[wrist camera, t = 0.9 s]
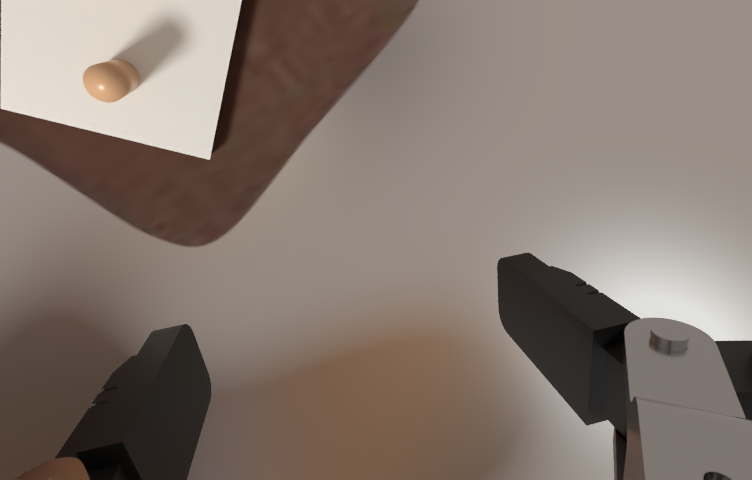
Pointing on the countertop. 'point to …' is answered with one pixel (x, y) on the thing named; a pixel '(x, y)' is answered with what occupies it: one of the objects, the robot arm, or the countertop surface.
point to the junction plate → (127, 33)
